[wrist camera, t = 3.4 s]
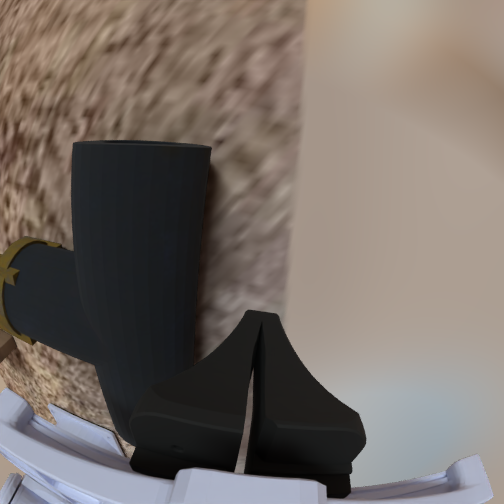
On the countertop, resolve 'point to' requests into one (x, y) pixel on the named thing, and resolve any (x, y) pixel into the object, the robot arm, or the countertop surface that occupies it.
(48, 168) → the countertop surface
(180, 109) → the countertop surface
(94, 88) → the countertop surface
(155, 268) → the pipe connector
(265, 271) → the countertop surface
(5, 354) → the stop rail
